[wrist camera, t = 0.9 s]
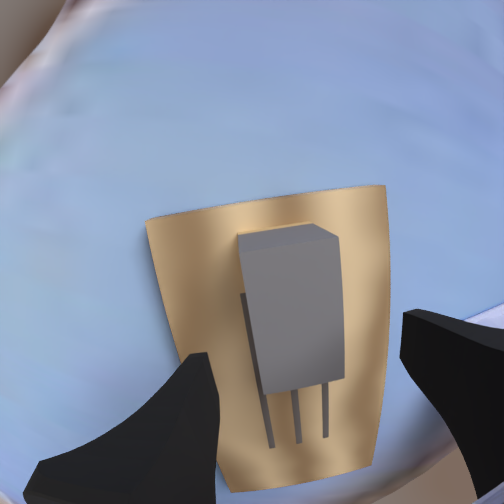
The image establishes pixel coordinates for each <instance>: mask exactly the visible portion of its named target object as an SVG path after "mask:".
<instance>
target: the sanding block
mask: <svg viewBox="0 0 504 504" xmlns="http://www.w3.org/2000/svg"><path fill="white" fill-rule="evenodd" d="M238 247H239V257H240V263H241V269H242V275H243V280H244V286H245V292H246V298H247V304H248V310H249V315H250V321H251V327H252V333H253V338H254V344H255V350H256V355H257V361H258V366H259V372H260V378H261V383H262V389H263V394H264V395H267V394H273V393H279V392H284V391H290V390H295V389H300V388H305V387H310V386H314V385H319V384H323V383H328V382H332V381H336V380H340V379H344V378H345V339H344V307H343V287H342V271H341V257H340V245H339V237H338V236H336V235H334V234H332V233H331V232H329V231H327V230H325V229H323V228H321V227H319V226H317V225H315V224H313V223H311V222H309V221H308V222H302V223H295V224H289V225H282V226H276V227H269V228H263V229H256V230H250V231H244V232H238Z"/></svg>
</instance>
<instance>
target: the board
mask: <svg viewBox="0 0 504 504" xmlns="http://www.w3.org/2000/svg"><path fill="white" fill-rule="evenodd" d="M308 221H309V222H311V223H313V224H315V225H317V226H319V227H321V228H323V229H325V230H327V231H329V232H331V233H332V234H334V235H336V236H338V237H339V245H340V257H341V271H342V287H343V307H344V339H345V378H344V379H340V380H336V381H332V382H328V383H323V384H319V385H314V386H310V387H305V388H300V389H295V390H290V391H284V392H279V393H273V394H267V395H264V394H263V389H262V383H261V378H260V372H259V366H258V361H257V355H256V350H255V344H254V338H253V333H252V327H251V321H250V315H249V310H248V304H247V298H246V292H245V286H244V280H243V275H242V269H241V263H240V257H239V247H238V232H244V231H250V230H256V229H263V228H269V227H276V226H282V225H289V224H295V223H302V222H308ZM145 224H146V229H147V234H148V239H149V244H150V248H151V253H152V257H153V262H154V266H155V271H156V275H157V279H158V283H159V287H160V291H161V295H162V299H163V303H164V306H165V310H166V314H167V318H168V321H169V325H170V328H171V332H172V335H173V339H174V342H175V345H176V349H177V352H178V355H179V358H180V362H181V364H182V363H183V361H184V360H185V359H186V358H187V357H188V355H189V354H192V353H200V352H207V353H208V357H209V361H210V364H211V368H212V372H213V375H214V379H215V383H216V386H217V390H218V393H219V400H220V428H219V438H218V448H217V458H216V460H217V462H218V465H219V467H220V469H221V472H222V474H223V476H224V478H225V481H226V483H227V485H228V487H229V490H230V492H231V493H235V492H246V491H256V490H264V489H271V488H278V487H284V486H290V485H296V484H301V483H306V482H311V481H315V480H320V479H324V478H328V477H332V476H336V475H340V474H344V473H347V472H351V471H354V470H358V469H361V468H364V467H367V466H370V465H371V464H372V460H373V455H374V450H375V445H376V440H377V434H378V428H379V422H380V416H381V409H382V402H383V395H384V386H385V377H386V368H387V356H388V343H389V325H390V241H389V223H388V209H387V197H386V187H385V185H368V186H358V187H349V188H341V189H332V190H324V191H316V192H308V193H301V194H293V195H286V196H279V197H272V198H265V199H259V200H252V201H246V202H239V203H233V204H227V205H221V206H215V207H209V208H204V209H198V210H192V211H187V212H181V213H176V214H171V215H165V216H160V217H155V218H151V219H149V220H147V221H145Z"/></svg>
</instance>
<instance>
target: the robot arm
mask: <svg viewBox="0 0 504 504" xmlns="http://www.w3.org/2000/svg"><path fill="white" fill-rule="evenodd" d="M400 359H401V361H402V363H403V365H404V367H405V368H406V370H407V372H408V373H409V375H410V377H411V378H412V379H413V381H414V382H415V383H416V384H417V386H418V387H419V388H420V390H421V391H422V392H423V393H424V395H425V396H426V397H427V398H428V400H429V401H430V402H431V403H432V405H433V406H434V407H435V408H436V410H437V411H438V412H439V414H440V415H441V416H442V418H443V419H444V421H445V422H446V424H447V426H448V428H449V429H450V431H451V433H452V435H453V437H454V438H455V440H456V442H457V445H458V447H459V449H460V450H461V453H462V455H463V457H464V460H465V462H466V465H467V467H468V470H469V472H470V475H471V478H472V481H473V484H474V488H475V491H476V494H477V499H478V500H477V501H475V502H473V503H472V504H504V303H503V304H501V305H499V306H497V307H494V308H492V309H490V310H487V311H485V312H483V313H480V314H478V315H476V316H473V317H471V318H468V319H466V320H459V319H455V318H452V317H448V316H445V315H441V314H438V313H434V312H430V311H426V310H421V309H414V310H410V311H407V312H403V323H402V337H401V348H400ZM219 428H220V400H219V393H218V390H217V386H216V383H215V379H214V375H213V372H212V368H211V364H210V361H209V357H208V353H207V352H200V353H192V354H189V355H188V357H187V358H186V359H185V360H184V361H183V363H182V364H181V365H180V366H179V367H178V369H177V370H176V371H175V372H174V374H173V375H172V376H171V377H170V378H169V379H168V380H167V382H166V383H165V384H164V385H163V386H162V387H161V388H160V389H159V390H158V391H157V392H156V393H155V394H154V395H153V396H152V397H151V398H150V399H149V400H148V401H147V402H146V403H145V404H144V405H143V406H142V407H141V408H140V409H138V410H137V411H136V412H135V413H134V414H132V415H131V416H130V417H129V418H127V419H126V420H125V421H123V422H122V423H120V424H119V425H117V426H116V427H114V428H113V429H111V430H110V431H108V432H106V433H105V434H103V435H102V436H100V437H98V438H96V439H95V440H93V441H91V442H89V443H87V444H85V445H83V446H80V447H78V448H76V449H74V450H71V451H69V452H66V453H63V454H60V455H58V456H55V457H52V458H49V459H45V460H42V461H39V463H38V465H37V467H36V469H35V470H34V472H33V474H32V476H31V478H30V480H29V482H28V484H27V486H26V488H25V490H24V492H23V497H24V499H25V501H26V503H27V504H216V495H215V468H216V458H217V448H218V438H219Z"/></svg>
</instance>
